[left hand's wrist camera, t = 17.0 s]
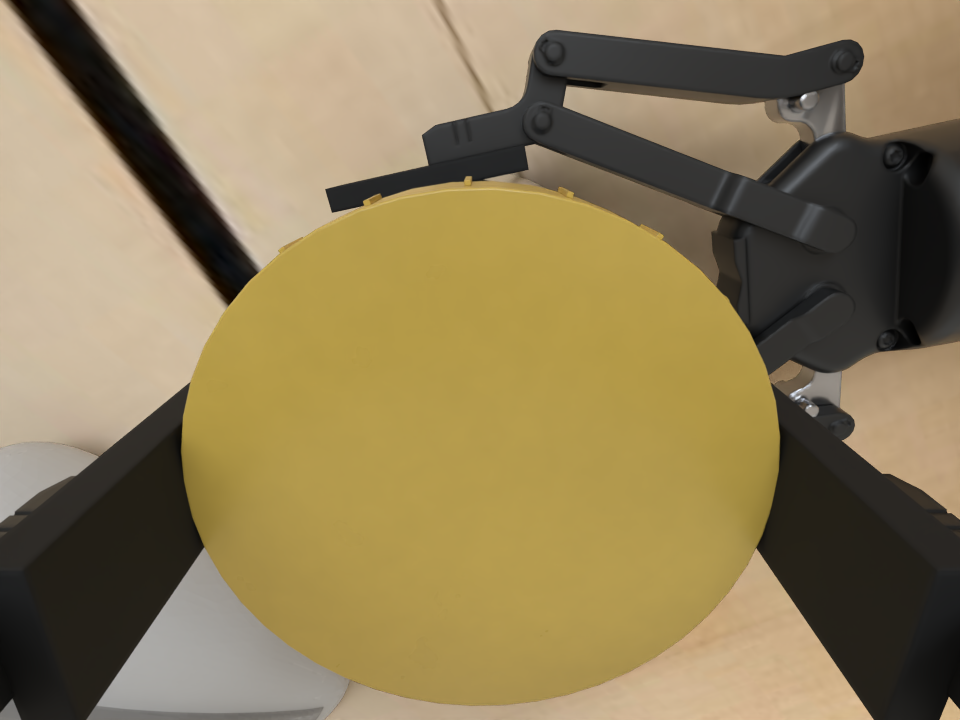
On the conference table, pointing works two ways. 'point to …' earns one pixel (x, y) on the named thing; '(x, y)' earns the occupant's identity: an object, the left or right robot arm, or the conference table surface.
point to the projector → (186, 634)
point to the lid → (480, 444)
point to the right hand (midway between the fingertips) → (381, 346)
